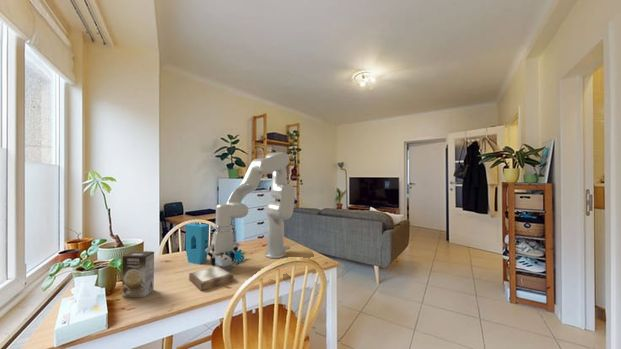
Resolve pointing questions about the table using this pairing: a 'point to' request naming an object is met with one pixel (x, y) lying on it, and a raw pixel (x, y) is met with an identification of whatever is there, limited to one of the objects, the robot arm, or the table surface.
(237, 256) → the gear
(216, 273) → the stand
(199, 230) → the block
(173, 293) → the table surface
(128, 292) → the coffee box
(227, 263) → the block
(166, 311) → the table surface
